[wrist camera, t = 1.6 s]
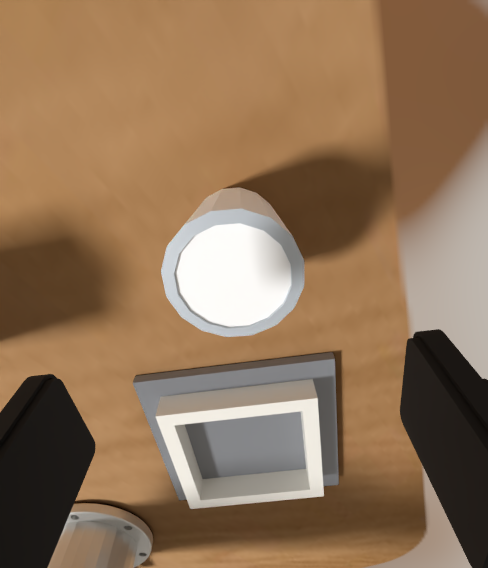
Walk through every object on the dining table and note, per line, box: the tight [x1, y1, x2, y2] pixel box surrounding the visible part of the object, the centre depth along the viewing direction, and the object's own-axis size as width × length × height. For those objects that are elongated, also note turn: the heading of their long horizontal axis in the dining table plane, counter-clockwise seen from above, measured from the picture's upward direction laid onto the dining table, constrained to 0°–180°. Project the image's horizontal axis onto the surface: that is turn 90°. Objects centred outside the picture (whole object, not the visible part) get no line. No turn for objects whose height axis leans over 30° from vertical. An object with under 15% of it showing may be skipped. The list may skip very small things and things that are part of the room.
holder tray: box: [133, 352, 339, 509], centre depth 30 cm, size 16×16×3 cm
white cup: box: [161, 187, 304, 337], centre depth 20 cm, size 7×7×7 cm
